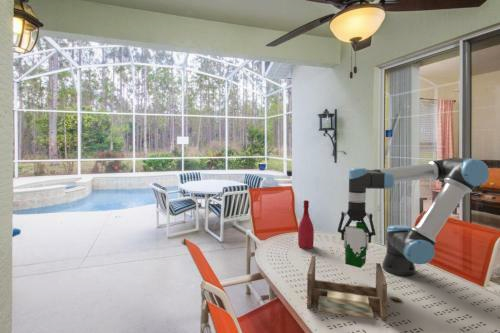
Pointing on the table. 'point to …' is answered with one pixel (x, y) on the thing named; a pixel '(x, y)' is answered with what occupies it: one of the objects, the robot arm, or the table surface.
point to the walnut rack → (349, 289)
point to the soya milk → (355, 244)
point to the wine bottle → (305, 229)
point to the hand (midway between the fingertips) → (355, 248)
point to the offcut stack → (345, 304)
